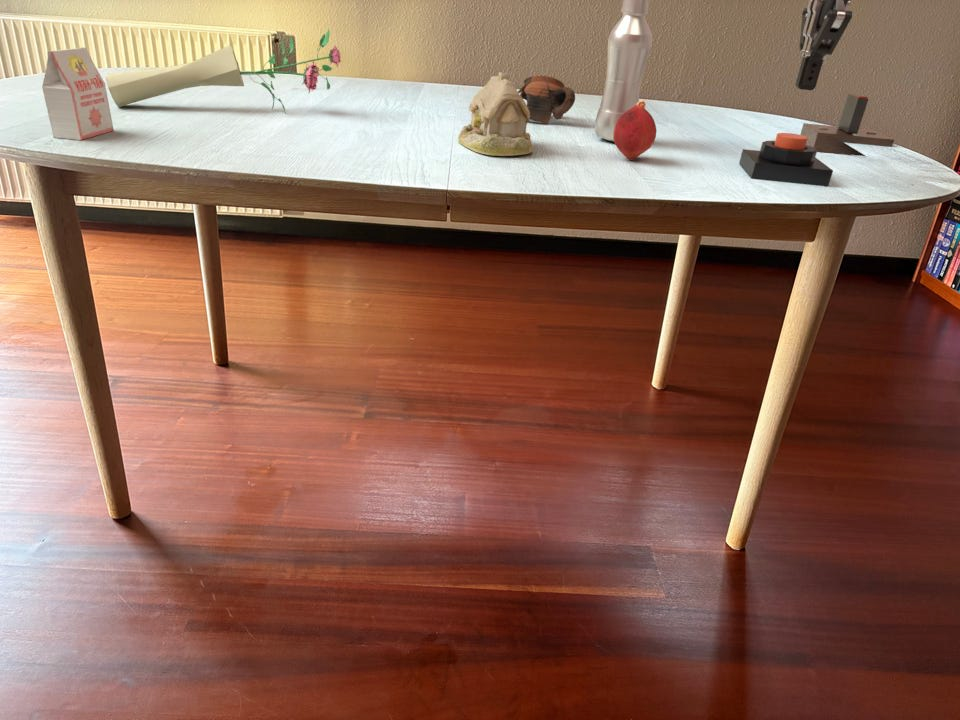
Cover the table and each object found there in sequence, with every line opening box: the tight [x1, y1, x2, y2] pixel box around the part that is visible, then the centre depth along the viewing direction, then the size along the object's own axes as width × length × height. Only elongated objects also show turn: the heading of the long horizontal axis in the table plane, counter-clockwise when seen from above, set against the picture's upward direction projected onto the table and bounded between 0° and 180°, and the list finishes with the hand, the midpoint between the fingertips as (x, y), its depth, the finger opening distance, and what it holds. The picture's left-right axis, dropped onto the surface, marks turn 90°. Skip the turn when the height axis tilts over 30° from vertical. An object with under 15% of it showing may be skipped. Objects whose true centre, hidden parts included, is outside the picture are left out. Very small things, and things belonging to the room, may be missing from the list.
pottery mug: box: [517, 75, 576, 125], centre depth 120 cm, size 12×10×8 cm
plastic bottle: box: [594, 0, 654, 143], centre depth 104 cm, size 6×7×20 cm
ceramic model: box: [457, 71, 534, 157], centre depth 97 cm, size 14×11×10 cm
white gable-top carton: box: [41, 47, 114, 141], centre depth 86 cm, size 4×7×10 cm, turn 172°
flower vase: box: [105, 28, 342, 115], centre depth 108 cm, size 12×12×35 cm
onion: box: [613, 100, 657, 161], centre depth 95 cm, size 6×6×8 cm
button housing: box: [738, 140, 834, 188], centre depth 94 cm, size 10×9×4 cm
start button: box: [774, 132, 808, 150], centre depth 93 cm, size 4×4×2 cm
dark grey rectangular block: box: [837, 93, 869, 134], centre depth 114 cm, size 5×2×6 cm, turn 172°
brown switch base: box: [799, 122, 895, 157], centre depth 116 cm, size 12×9×3 cm
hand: (804, 88), depth 90 cm, fingers closed
